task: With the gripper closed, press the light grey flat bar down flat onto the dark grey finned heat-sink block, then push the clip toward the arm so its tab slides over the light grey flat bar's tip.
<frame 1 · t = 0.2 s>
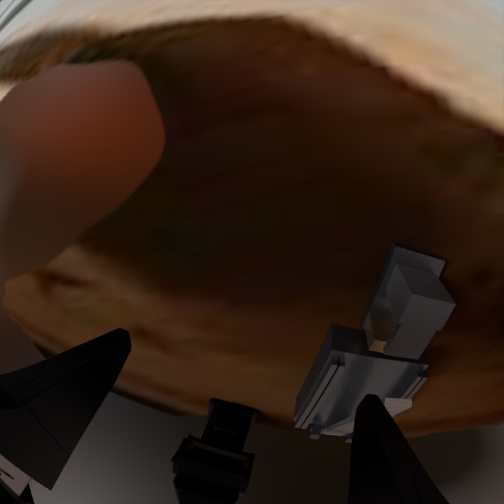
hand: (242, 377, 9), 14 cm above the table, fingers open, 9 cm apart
light grey flat bar: (360, 421, 20), point 6 cm above the table, hinge at -20.0°
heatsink: (355, 373, 26), on the table
clip: (410, 312, 18), point 3 cm above the table, slide at 0.0 cm
clip rail: (401, 290, 21), on the table
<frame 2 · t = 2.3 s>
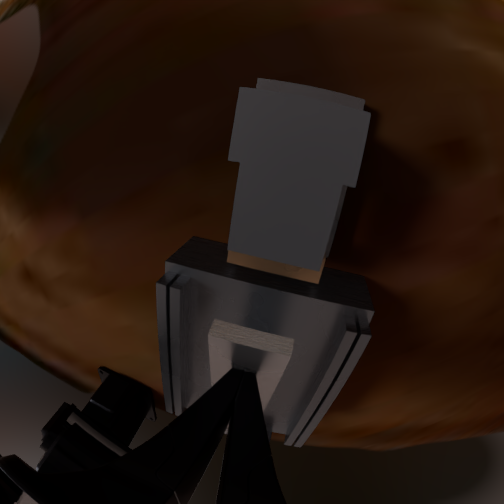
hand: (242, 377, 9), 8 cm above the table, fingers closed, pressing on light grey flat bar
light grey flat bar: (238, 405, 12), point 6 cm above the table, hinge at -16.7°, touching gripper
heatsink: (259, 336, 18), on the table
clip: (293, 173, 10), point 3 cm above the table, slide at 0.0 cm
clip rail: (297, 166, 13), on the table
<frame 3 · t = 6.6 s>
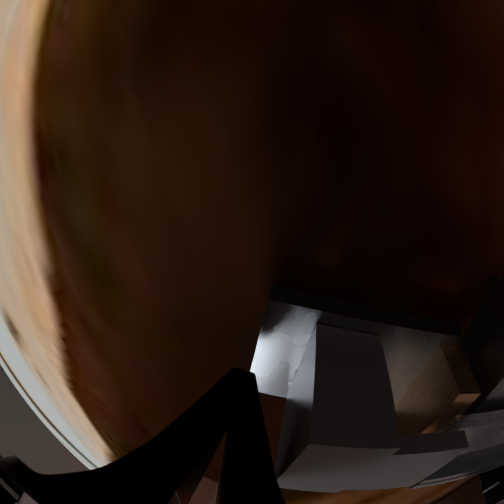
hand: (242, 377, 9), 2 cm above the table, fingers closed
clip: (370, 419, 7), point 3 cm above the table, slide at 0.5 cm, touching gripper
clip rail: (352, 354, 10), on the table
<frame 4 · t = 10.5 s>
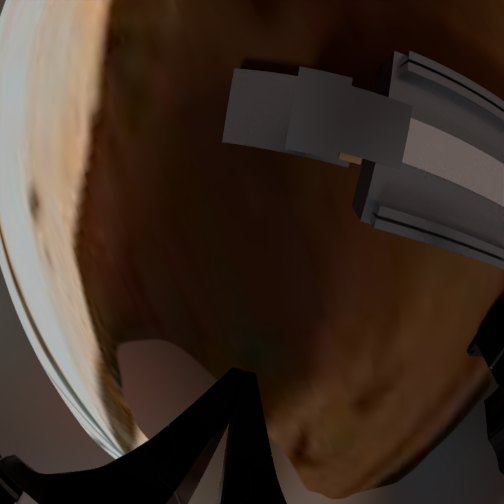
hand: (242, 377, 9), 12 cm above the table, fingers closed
light grey flat bar: (465, 165, 11), point 4 cm above the table, hinge at -1.0°
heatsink: (445, 161, 15), on the table
clip: (346, 122, 13), point 3 cm above the table, slide at 3.0 cm
clip rail: (292, 115, 16), on the table
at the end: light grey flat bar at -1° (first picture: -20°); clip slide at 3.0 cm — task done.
